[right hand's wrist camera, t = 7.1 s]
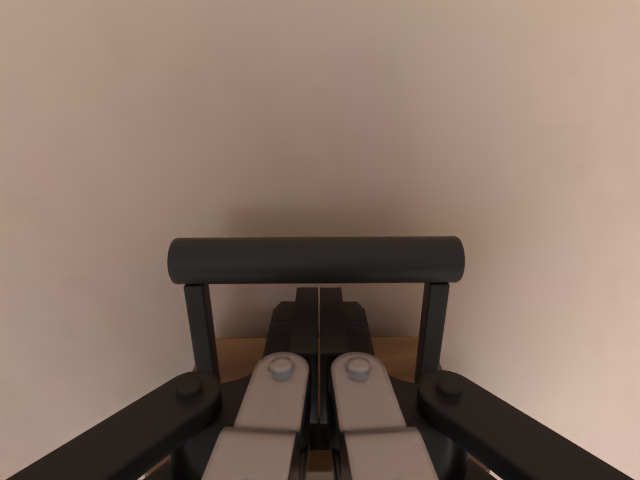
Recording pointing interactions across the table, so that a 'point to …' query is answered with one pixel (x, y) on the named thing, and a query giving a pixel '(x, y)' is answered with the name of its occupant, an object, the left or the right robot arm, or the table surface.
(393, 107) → the table surface
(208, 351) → the drawer
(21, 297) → the table surface
